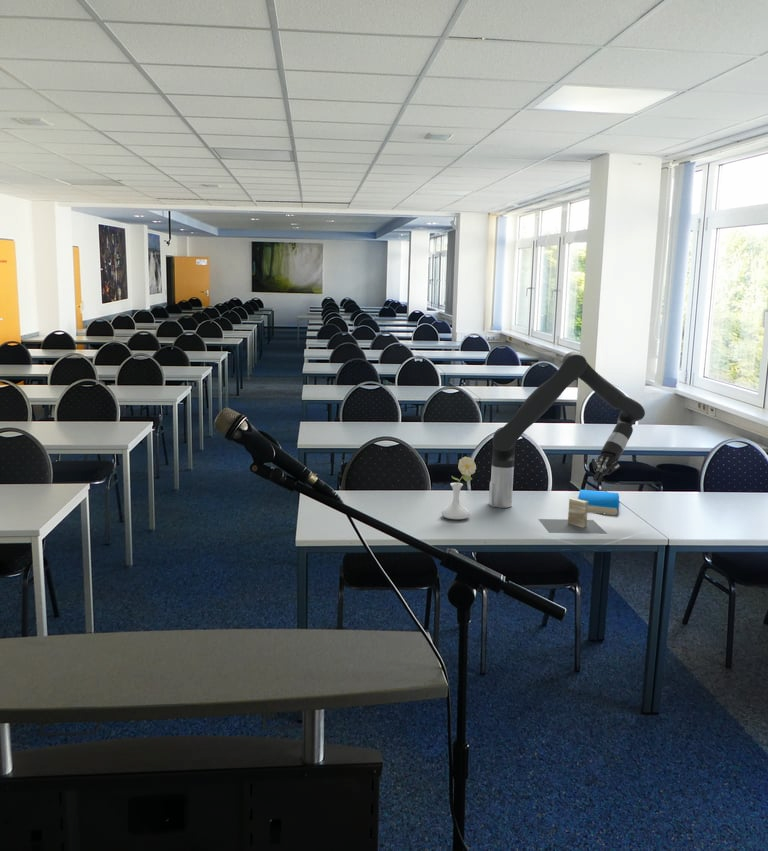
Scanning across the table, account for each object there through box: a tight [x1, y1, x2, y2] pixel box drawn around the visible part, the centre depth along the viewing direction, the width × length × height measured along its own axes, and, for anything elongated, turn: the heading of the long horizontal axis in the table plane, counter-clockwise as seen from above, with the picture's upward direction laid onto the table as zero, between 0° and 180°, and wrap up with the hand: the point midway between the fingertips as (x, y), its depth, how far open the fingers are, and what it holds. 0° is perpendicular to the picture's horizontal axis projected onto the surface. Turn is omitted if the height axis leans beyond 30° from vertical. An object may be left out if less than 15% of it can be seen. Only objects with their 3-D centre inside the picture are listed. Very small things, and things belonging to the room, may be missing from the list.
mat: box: [538, 518, 608, 535], centre depth 304 cm, size 22×18×1 cm
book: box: [577, 489, 620, 516], centre depth 337 cm, size 17×4×25 cm
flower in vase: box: [440, 456, 477, 520], centre depth 311 cm, size 13×11×25 cm
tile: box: [567, 497, 589, 528], centre depth 304 cm, size 2×7×10 cm, turn 41°
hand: (595, 481), depth 310 cm, fingers closed
